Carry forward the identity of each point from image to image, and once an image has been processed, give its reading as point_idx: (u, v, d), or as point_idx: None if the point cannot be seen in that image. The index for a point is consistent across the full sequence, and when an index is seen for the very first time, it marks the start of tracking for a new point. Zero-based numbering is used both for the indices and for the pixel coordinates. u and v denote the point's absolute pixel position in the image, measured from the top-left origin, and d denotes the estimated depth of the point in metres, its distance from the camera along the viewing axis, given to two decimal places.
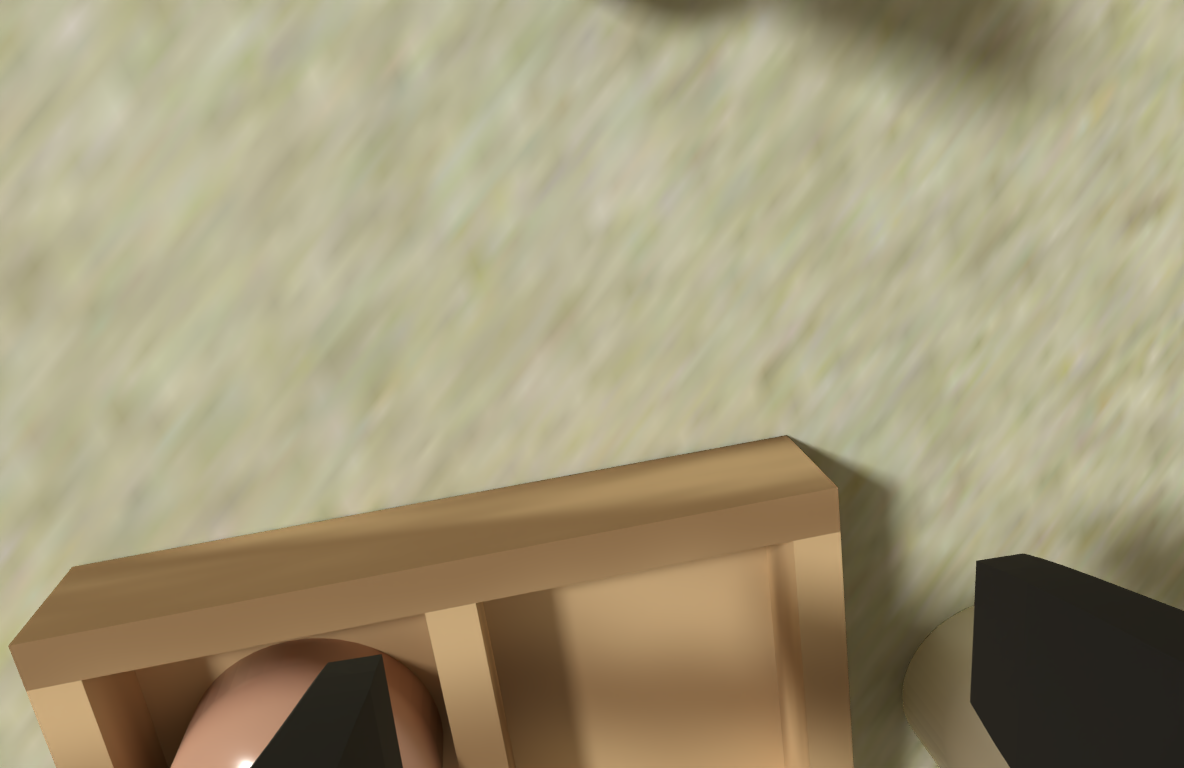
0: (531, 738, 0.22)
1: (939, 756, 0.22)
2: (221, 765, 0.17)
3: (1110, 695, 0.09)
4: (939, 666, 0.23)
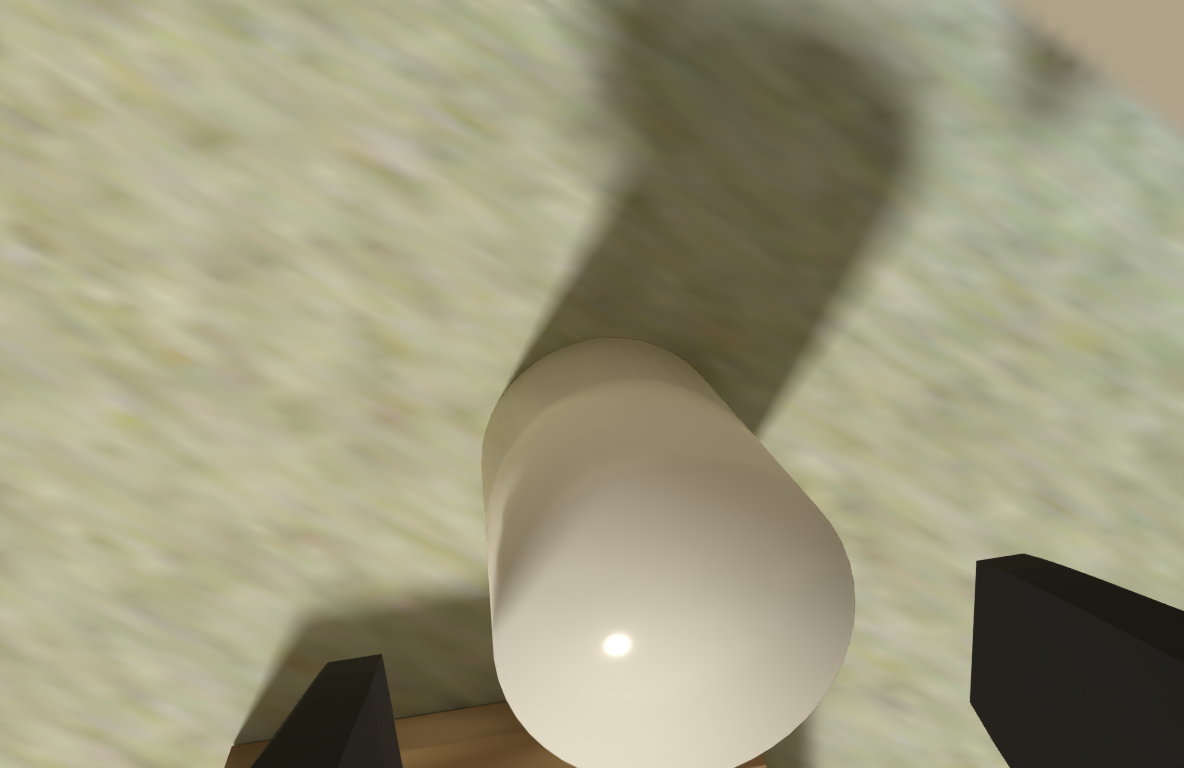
0: None
1: None
2: None
3: (1110, 695, 0.09)
4: None
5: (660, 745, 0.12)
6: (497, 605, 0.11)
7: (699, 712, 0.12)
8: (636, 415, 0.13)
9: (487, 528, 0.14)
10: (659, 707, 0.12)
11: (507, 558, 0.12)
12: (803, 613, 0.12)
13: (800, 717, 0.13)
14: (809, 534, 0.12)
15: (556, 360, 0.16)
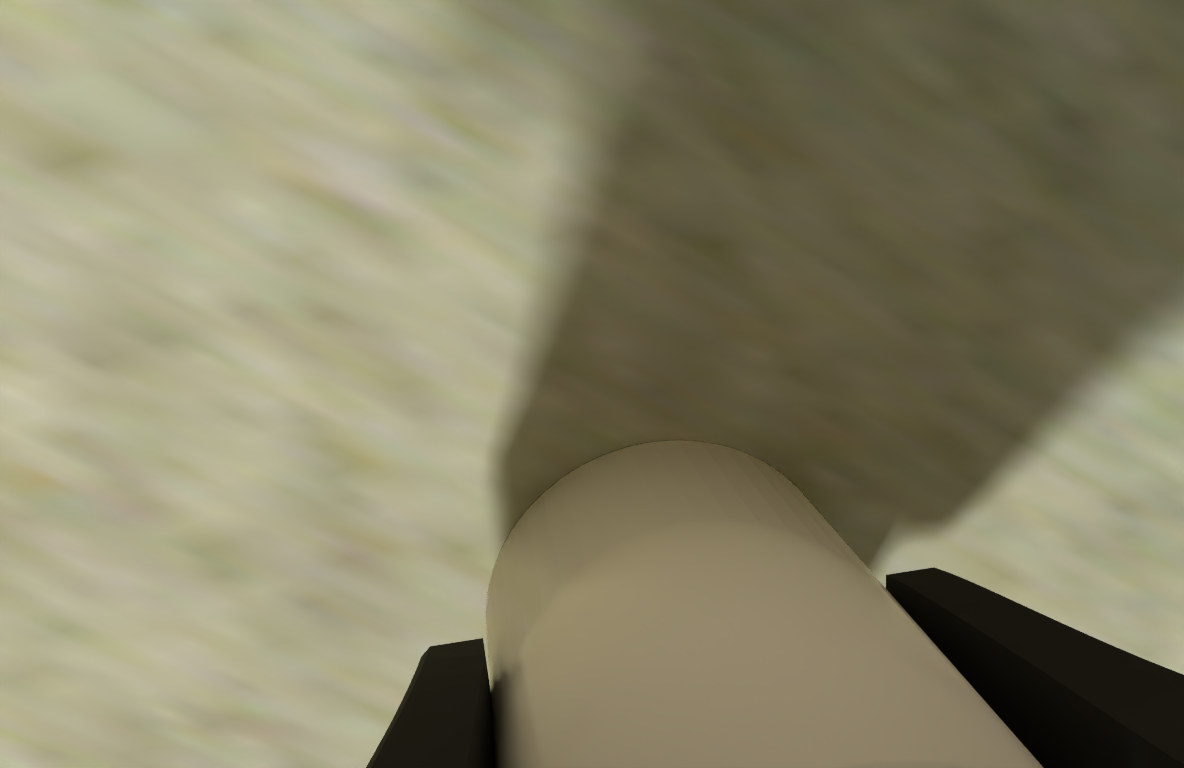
0: None
1: None
2: None
3: (1001, 714, 0.09)
4: None
5: None
6: None
7: None
8: (753, 630, 0.08)
9: None
10: None
11: None
12: None
13: None
14: None
15: (597, 481, 0.11)
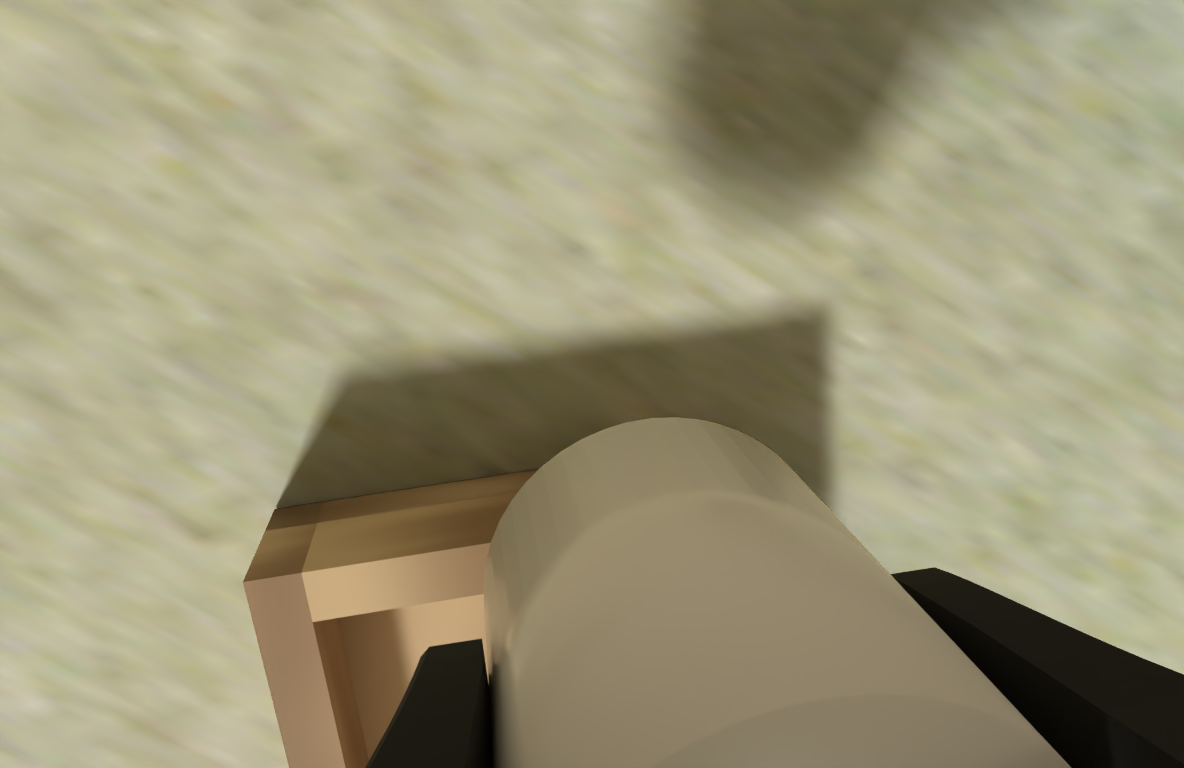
0: None
1: None
2: None
3: None
4: None
5: None
6: None
7: None
8: (745, 580, 0.08)
9: (495, 730, 0.09)
10: None
11: None
12: None
13: None
14: None
15: (596, 453, 0.11)
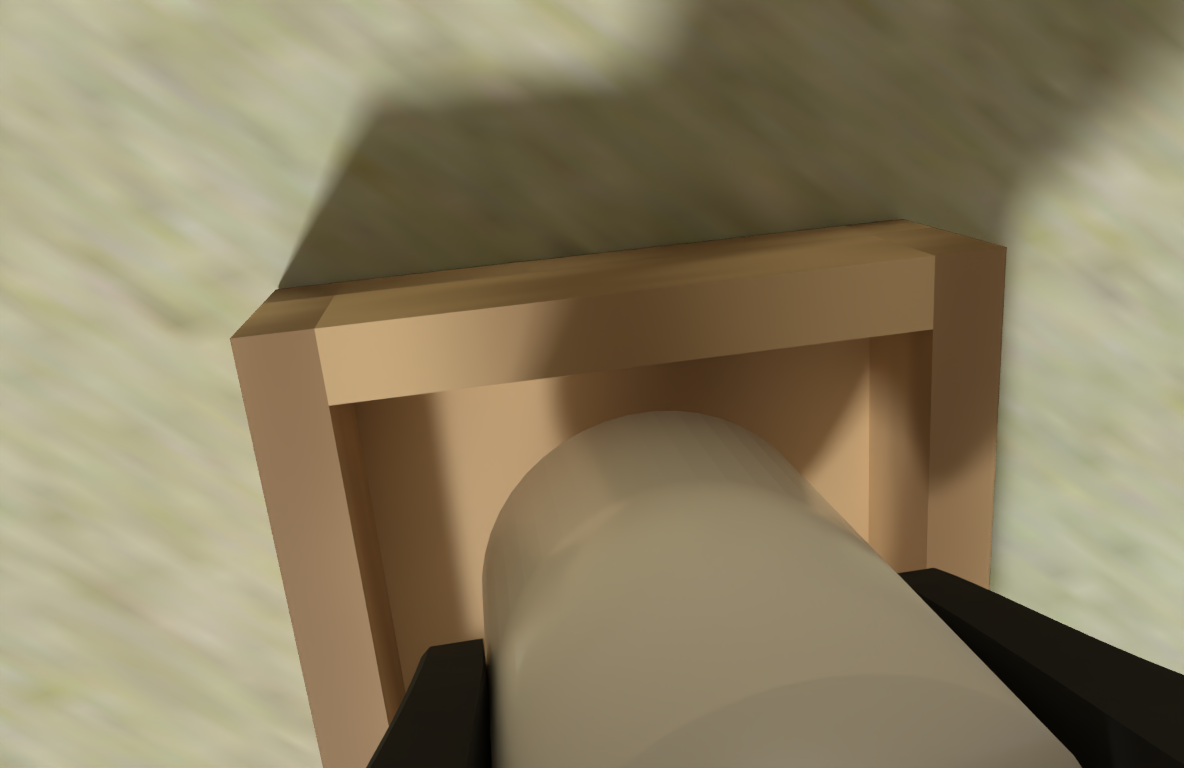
0: None
1: None
2: None
3: None
4: None
5: None
6: None
7: None
8: (747, 565, 0.08)
9: (493, 715, 0.09)
10: None
11: None
12: None
13: None
14: None
15: (597, 444, 0.11)
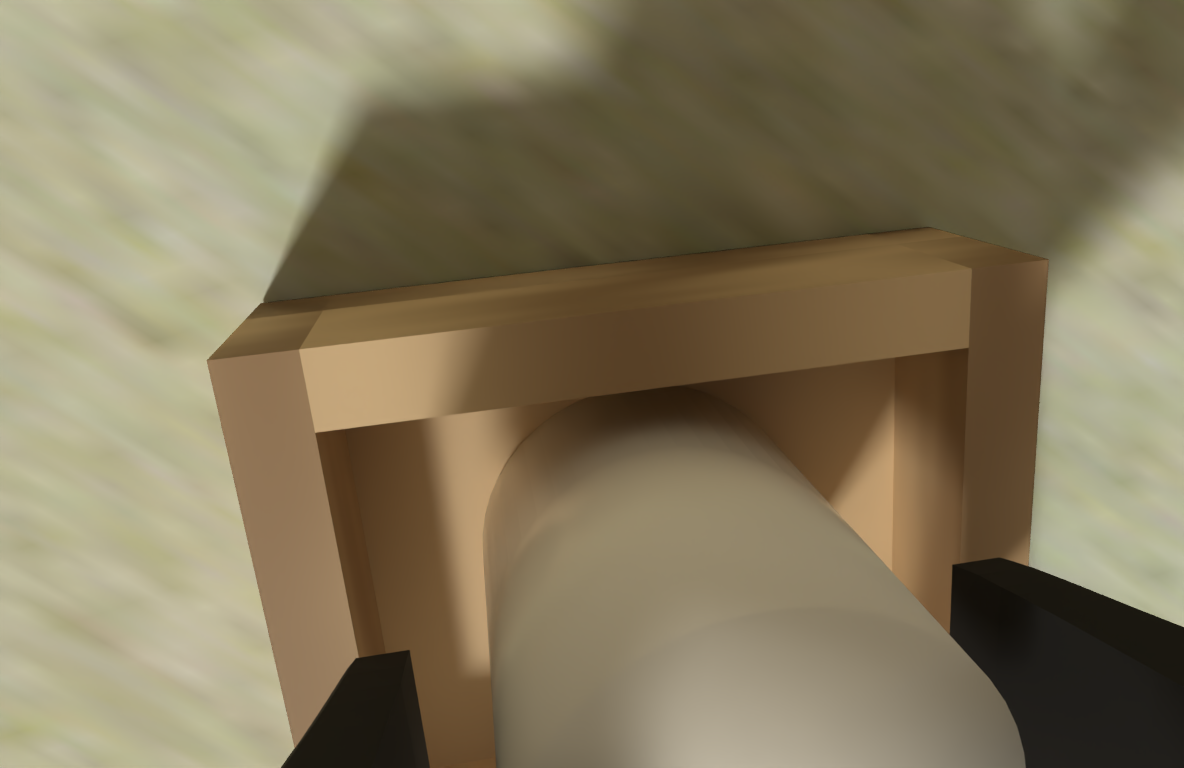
0: None
1: None
2: None
3: (1081, 700, 0.09)
4: None
5: None
6: None
7: None
8: (716, 520, 0.09)
9: (493, 653, 0.10)
10: None
11: (530, 738, 0.08)
12: None
13: None
14: (973, 715, 0.08)
15: (588, 415, 0.12)
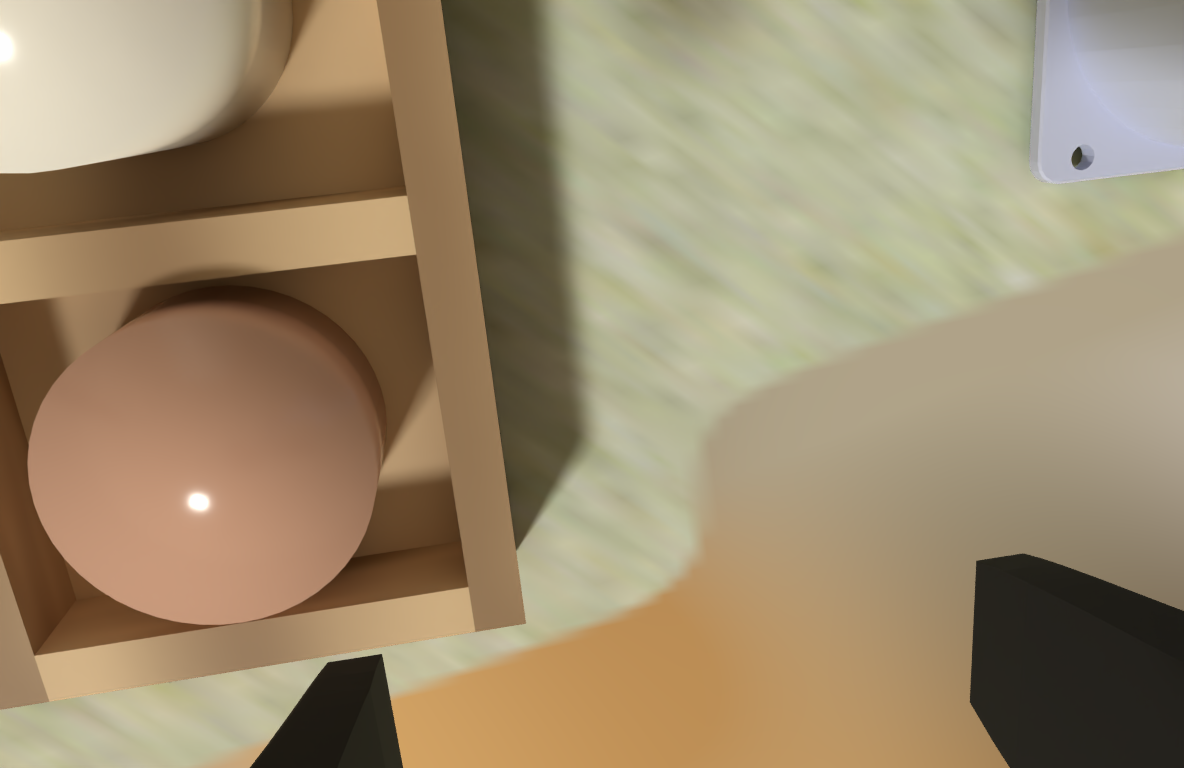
0: (243, 176, 0.17)
1: (158, 151, 0.15)
2: (94, 548, 0.16)
3: (1110, 695, 0.09)
4: None
5: None
6: None
7: (26, 75, 0.11)
8: None
9: None
10: None
11: None
12: None
13: (166, 106, 0.11)
14: None
15: None
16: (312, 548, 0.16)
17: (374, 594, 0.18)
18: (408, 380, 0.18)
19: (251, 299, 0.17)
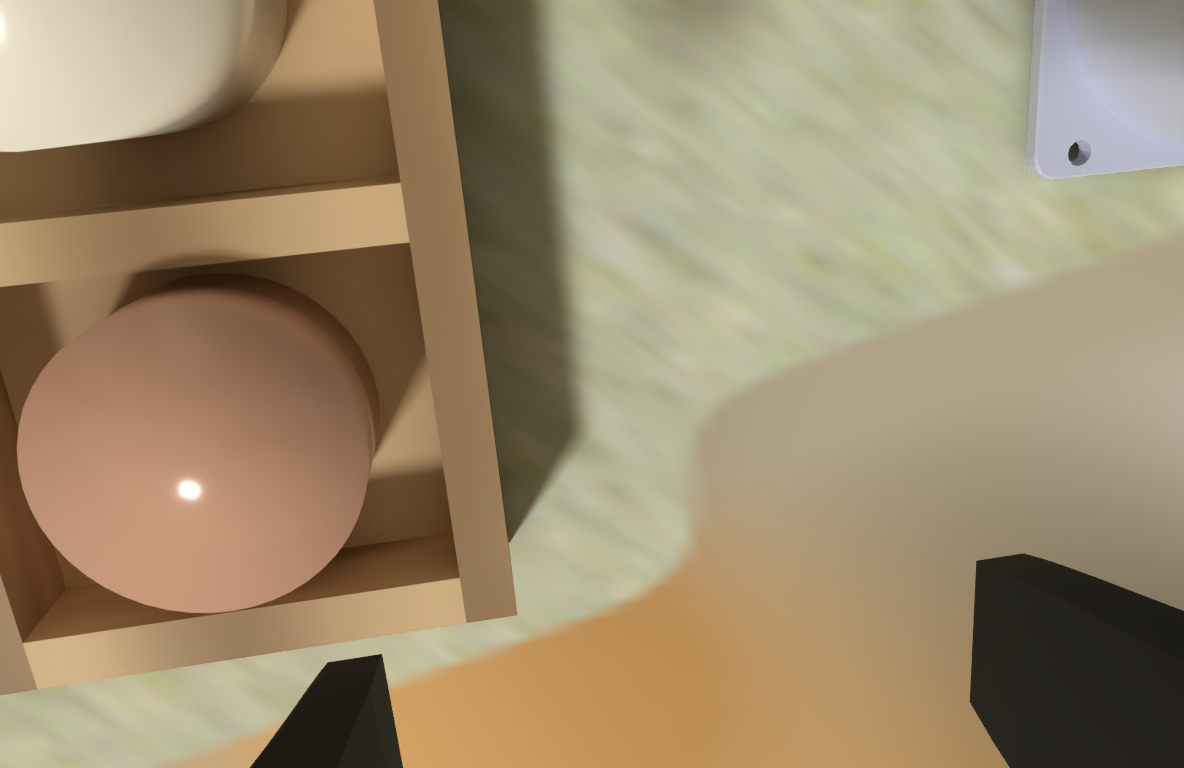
0: (236, 163, 0.17)
1: (150, 135, 0.15)
2: (84, 534, 0.16)
3: (1110, 695, 0.09)
4: None
5: None
6: None
7: (15, 53, 0.10)
8: None
9: None
10: None
11: None
12: None
13: (156, 86, 0.11)
14: None
15: None
16: (303, 536, 0.16)
17: (365, 584, 0.18)
18: (401, 370, 0.18)
19: (244, 286, 0.17)
